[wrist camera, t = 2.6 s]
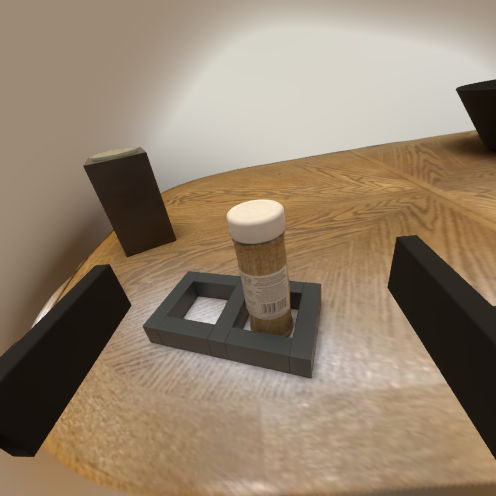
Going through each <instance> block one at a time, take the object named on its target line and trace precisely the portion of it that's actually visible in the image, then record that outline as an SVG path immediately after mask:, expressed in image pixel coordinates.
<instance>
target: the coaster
mask: <svg viewBox="0 0 496 496" xmlns="http://www.w3.org/2000/svg"><path fill="white" fill-rule="evenodd" d="M137 151H138V150H137V147H129V148H122V149H117V150H112V151H108V152H104V153H100V154H96V155H94V156H92V157H91V160H92V161H100V160H107V159H112V158H117V157H121V156H125V155H129V154H132V153H135V152H137Z"/></svg>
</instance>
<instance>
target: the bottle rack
mask: <svg viewBox="0 0 496 496" xmlns="http://www.w3.org/2000/svg"><path fill="white" fill-rule="evenodd" d="M289 287H290V308H295V309H299V310H298V315H297V320H296V324H295V329H294V334H293V338H289V337H283V336H278V335H272V334H266V333H260V332H255V331H249V330H243V326H244V324H245V322H246V319H247V317H248V315H249V313H248V309H247V306H246V301H245V296H244V291H243V286H242V282H241V277H240V276H232V275H221V274H211V273H200V272H190V271H188V272H187V274H186V275H185V276H184V277H183V278H182V280H181V281H180V282H179V283H178V284H177V286H176V287H175V288H174V289H173V290H172V292H171V293H170V294H169V295H168V296H167V298H166V299H165V300H164V301H163V302H162V304H161V305H160V306H159V307H158V308H157V310H156V311H155V312H154V313H153V314H152V316H151V317H150V318H149V319H148V320H147V321H146V323H145V324H144V325H143V328H144V330H145V332H146V334H147V336H148V338H149V340H150V341H151V342H154V343H158V344H162V345H167V346H171V347H175V348H180V349H184V350H189V351H193V352H198V353H202V354H207V355H211V356H216V357H220V358H224V359H230V360H233V361H237V362H242V363H246V364H251V365H255V366H260V367H264V368H268V369H273V370H277V371H282V372H286V373H291V374H295V375H300V376H304V377H308V378H312V371H313V363H314V355H315V346H316V338H317V330H318V322H319V314H320V305H321V284H317V283H307V282H305V283H304V282H295V281H289ZM198 295H199V296H205V297H212V298H220V299H227V300H228V302H227V304H226V306H225V308H224V309H223V311H222V313H221V315H220V317H219V319H218V320H217V322H216V324H215V325H214V324H209V323H203V322H197V321H192V320H186V319H182V318H183V317H184V315H185V314H186V312H187V311H188V310H189V308H190V307H191V305H192V304H193V302H194V301H195V300H196V298H197V297H198Z"/></svg>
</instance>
